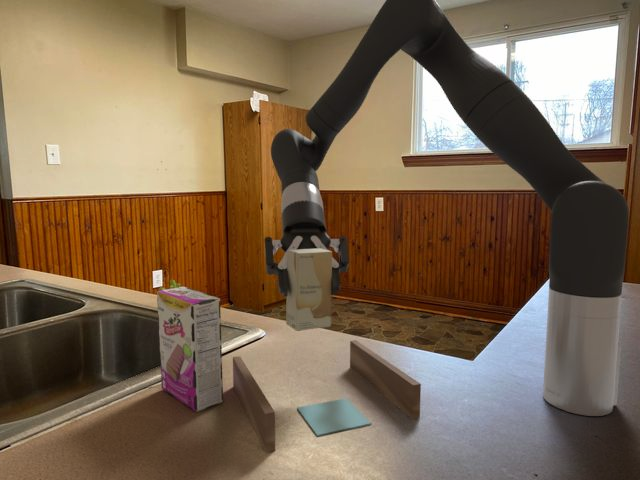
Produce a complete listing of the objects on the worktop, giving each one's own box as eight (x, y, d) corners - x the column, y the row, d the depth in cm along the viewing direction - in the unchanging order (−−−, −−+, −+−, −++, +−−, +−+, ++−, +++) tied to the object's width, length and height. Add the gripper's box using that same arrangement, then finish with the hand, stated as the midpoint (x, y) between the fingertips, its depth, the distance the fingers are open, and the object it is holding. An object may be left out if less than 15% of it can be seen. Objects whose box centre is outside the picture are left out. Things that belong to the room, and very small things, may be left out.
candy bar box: (159, 390, 72) (155, 290, 70) (187, 381, 75) (184, 285, 73) (195, 415, 64) (191, 302, 62) (224, 403, 67) (222, 296, 66)
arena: (355, 366, 81) (356, 340, 81) (419, 417, 63) (420, 383, 63) (233, 386, 73) (232, 357, 73) (265, 452, 55) (265, 413, 54)
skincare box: (296, 332, 68) (295, 253, 67) (285, 325, 72) (284, 249, 70) (333, 326, 71) (333, 250, 70) (320, 319, 75) (320, 247, 73)
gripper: (261, 199, 75) (263, 281, 65) (345, 198, 77) (359, 278, 67) (262, 227, 81) (263, 307, 71) (339, 226, 83) (352, 304, 73)
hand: (310, 293), depth 69 cm, fingers closed on skincare box, 7 cm apart
